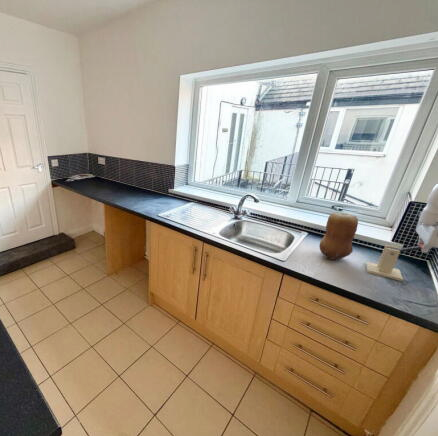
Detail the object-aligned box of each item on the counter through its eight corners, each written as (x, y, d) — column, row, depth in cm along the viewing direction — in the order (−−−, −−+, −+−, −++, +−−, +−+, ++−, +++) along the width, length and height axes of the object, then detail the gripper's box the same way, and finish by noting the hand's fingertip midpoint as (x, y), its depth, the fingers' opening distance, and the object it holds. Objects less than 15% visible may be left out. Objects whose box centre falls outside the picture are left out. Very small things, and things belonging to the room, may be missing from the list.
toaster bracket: (398, 271, 116) (408, 247, 111) (402, 281, 108) (413, 256, 104) (365, 263, 122) (374, 240, 118) (367, 272, 115) (376, 248, 110)
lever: (424, 247, 106) (422, 242, 106) (427, 251, 103) (425, 246, 103) (387, 252, 114) (385, 247, 114) (388, 256, 111) (387, 251, 111)
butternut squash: (323, 248, 136) (337, 207, 126) (352, 259, 125) (369, 215, 116) (311, 256, 129) (324, 212, 119) (340, 268, 119) (357, 221, 109)
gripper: (456, 228, 91) (440, 260, 96) (439, 214, 106) (426, 242, 111) (431, 224, 94) (417, 255, 99) (418, 211, 110) (407, 239, 115)
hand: (421, 248), depth 105 cm, fingers closed on lever, 5 cm apart
